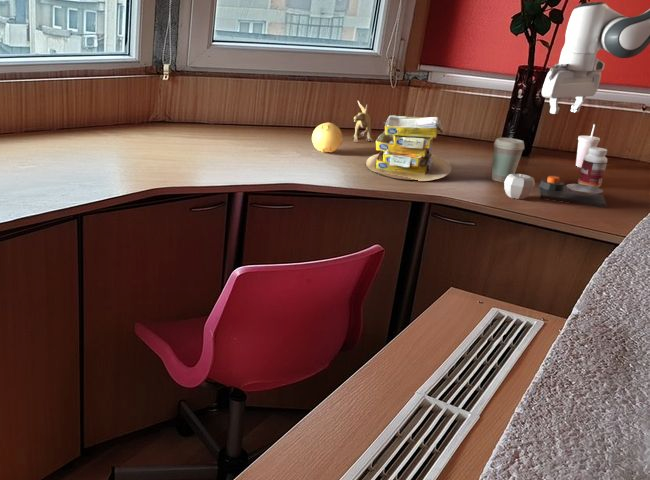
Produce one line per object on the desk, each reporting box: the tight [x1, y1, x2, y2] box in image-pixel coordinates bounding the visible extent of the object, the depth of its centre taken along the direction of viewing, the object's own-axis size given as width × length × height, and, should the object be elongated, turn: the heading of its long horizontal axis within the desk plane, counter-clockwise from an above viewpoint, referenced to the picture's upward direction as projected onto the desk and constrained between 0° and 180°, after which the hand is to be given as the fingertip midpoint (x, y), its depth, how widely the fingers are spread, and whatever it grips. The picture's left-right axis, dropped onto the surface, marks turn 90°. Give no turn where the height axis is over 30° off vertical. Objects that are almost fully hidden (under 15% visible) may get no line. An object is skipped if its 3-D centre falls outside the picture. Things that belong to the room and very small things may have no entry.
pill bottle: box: [577, 147, 608, 188], centre depth 211 cm, size 6×6×11 cm
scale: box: [538, 178, 607, 209], centre depth 200 cm, size 16×14×3 cm
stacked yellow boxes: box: [365, 114, 452, 182], centre depth 217 cm, size 25×25×17 cm
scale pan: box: [565, 183, 604, 195], centre depth 196 cm, size 9×9×1 cm
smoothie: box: [575, 123, 601, 169], centre depth 233 cm, size 6×6×14 cm
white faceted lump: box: [503, 173, 536, 200], centre depth 196 cm, size 8×8×7 cm
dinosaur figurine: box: [350, 100, 374, 143], centre depth 259 cm, size 8×26×13 cm, turn 165°
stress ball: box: [311, 122, 343, 153], centre depth 238 cm, size 10×10×10 cm
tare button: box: [546, 175, 560, 184], centre depth 203 cm, size 3×3×2 cm
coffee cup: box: [491, 137, 525, 183], centre depth 213 cm, size 9×8×12 cm
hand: (564, 112), depth 206 cm, fingers open, 8 cm apart
